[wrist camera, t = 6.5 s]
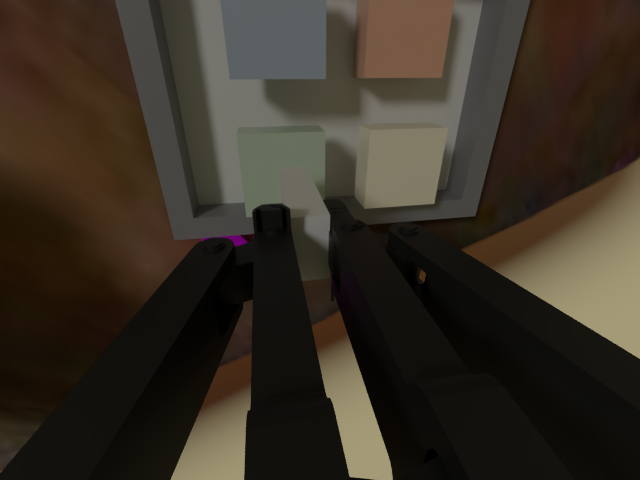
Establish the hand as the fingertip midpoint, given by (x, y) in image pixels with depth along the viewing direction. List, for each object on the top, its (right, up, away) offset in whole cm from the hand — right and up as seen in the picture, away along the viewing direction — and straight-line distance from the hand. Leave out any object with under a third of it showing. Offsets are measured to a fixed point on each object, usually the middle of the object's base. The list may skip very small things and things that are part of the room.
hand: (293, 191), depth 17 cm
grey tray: (+2, +8, +6) cm, 10 cm away
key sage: (-1, +2, +5) cm, 5 cm away
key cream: (+7, +3, +6) cm, 9 cm away
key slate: (-1, +10, +1) cm, 10 cm away
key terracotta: (+6, +11, +4) cm, 13 cm away
